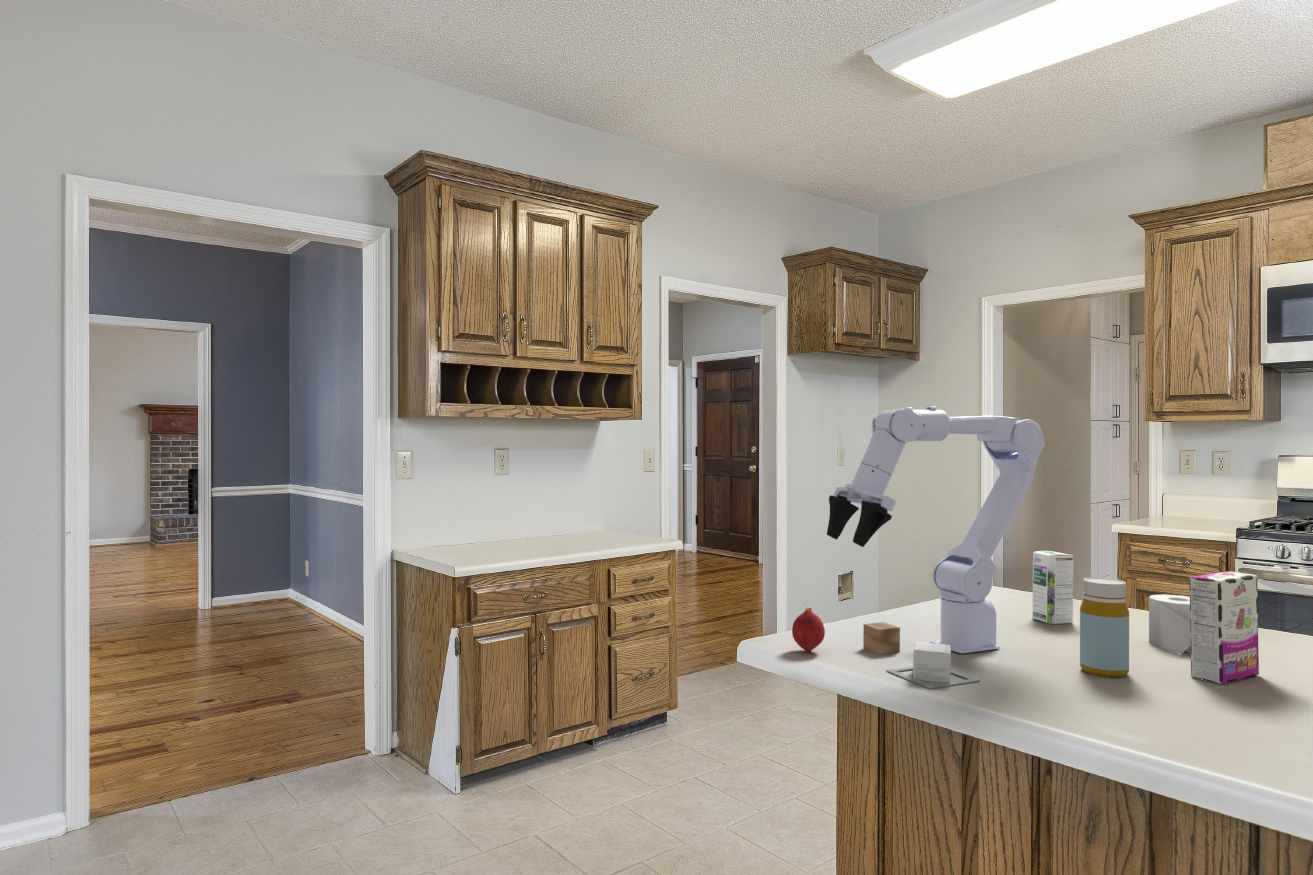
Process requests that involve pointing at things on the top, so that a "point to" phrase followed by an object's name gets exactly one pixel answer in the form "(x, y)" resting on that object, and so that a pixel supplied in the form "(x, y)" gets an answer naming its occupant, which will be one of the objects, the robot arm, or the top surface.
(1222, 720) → the top surface
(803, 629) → the onion
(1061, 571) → the syrup box
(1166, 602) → the toilet tissue
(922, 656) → the small box
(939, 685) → the gray square frame
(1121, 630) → the bottle
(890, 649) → the walnut cube
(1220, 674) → the candy bar box
